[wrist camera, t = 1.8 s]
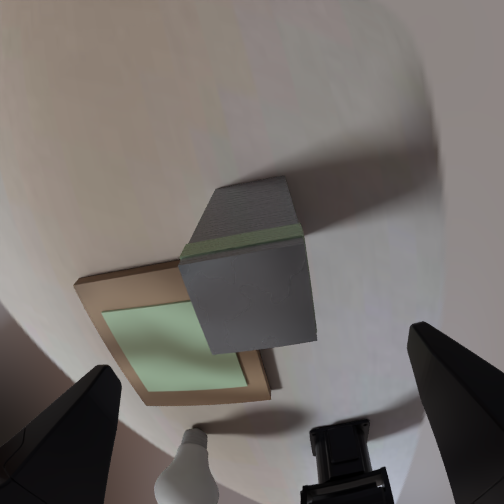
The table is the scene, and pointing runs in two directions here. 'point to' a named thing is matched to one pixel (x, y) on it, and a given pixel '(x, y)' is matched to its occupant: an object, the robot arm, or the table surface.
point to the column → (250, 270)
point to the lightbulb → (188, 474)
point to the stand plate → (166, 340)
